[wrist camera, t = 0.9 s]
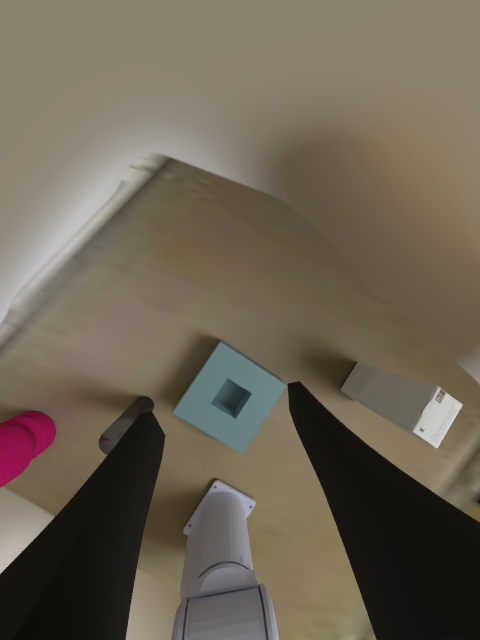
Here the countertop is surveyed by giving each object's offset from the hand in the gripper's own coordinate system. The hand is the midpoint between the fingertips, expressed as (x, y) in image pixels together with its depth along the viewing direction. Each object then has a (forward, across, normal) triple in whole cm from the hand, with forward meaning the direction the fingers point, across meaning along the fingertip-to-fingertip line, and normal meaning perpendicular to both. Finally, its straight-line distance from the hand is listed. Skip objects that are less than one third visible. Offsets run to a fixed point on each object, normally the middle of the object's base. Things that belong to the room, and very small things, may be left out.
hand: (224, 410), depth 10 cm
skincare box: (+15, -20, +18) cm, 31 cm away
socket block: (+15, +1, +14) cm, 21 cm away
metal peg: (+14, +15, +13) cm, 25 cm away
